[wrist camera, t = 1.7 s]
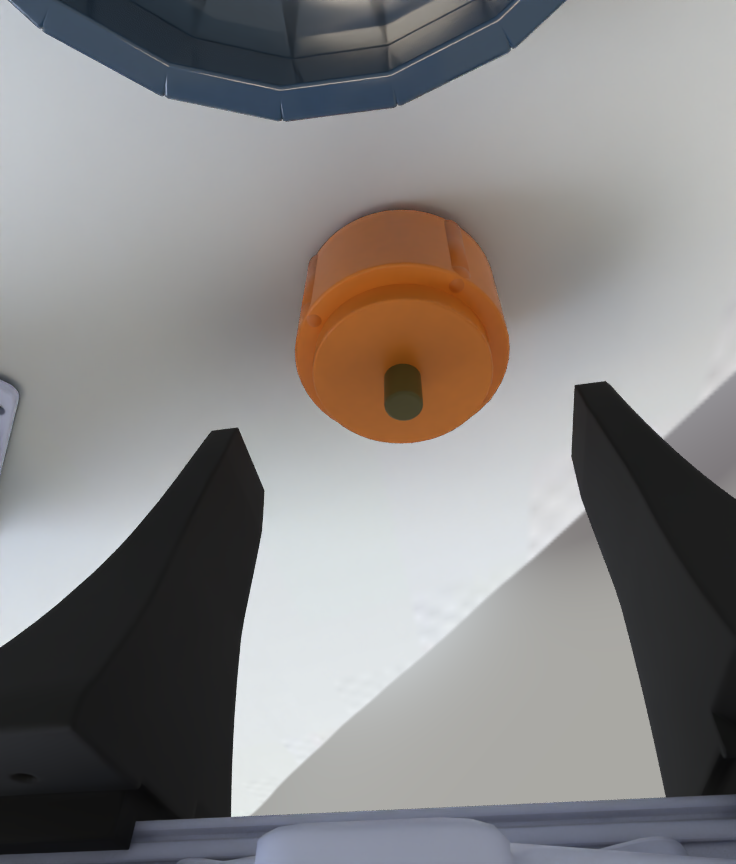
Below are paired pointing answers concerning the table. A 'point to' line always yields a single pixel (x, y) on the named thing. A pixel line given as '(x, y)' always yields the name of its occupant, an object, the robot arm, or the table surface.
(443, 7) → the bowl
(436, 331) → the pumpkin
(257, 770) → the table surface
